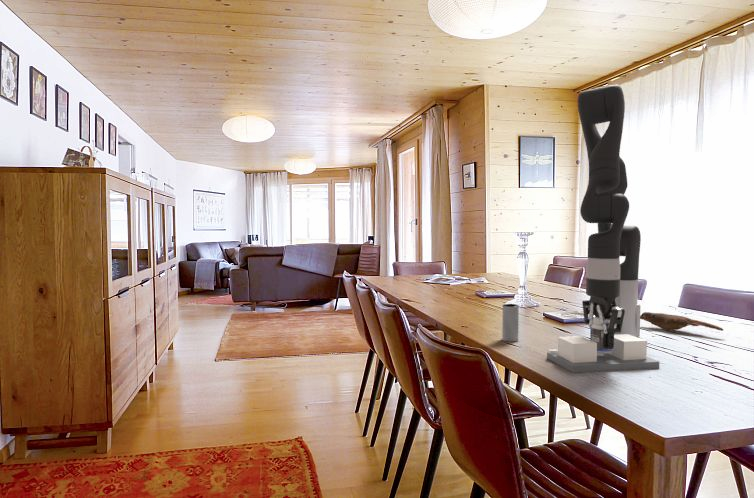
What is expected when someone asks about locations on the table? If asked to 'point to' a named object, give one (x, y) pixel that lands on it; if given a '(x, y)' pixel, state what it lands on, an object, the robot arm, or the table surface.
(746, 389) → the table surface
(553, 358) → the rail board
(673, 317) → the bird sculpture
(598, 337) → the pill bottle
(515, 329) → the planter
